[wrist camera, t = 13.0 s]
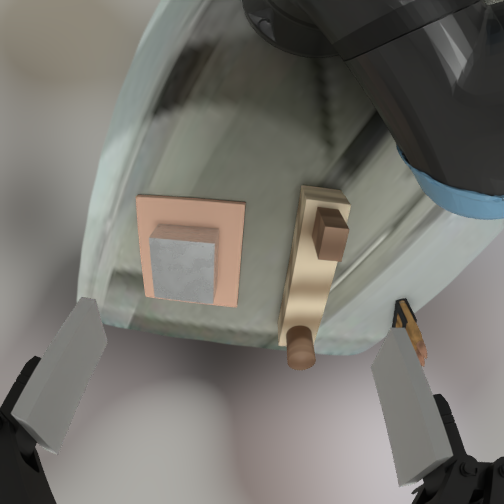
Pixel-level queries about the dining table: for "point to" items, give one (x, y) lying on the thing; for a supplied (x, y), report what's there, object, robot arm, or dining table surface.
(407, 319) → the ammunition clip
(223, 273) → the mat
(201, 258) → the brushed metal block
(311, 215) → the wooden peg stand
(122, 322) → the dining table surface
